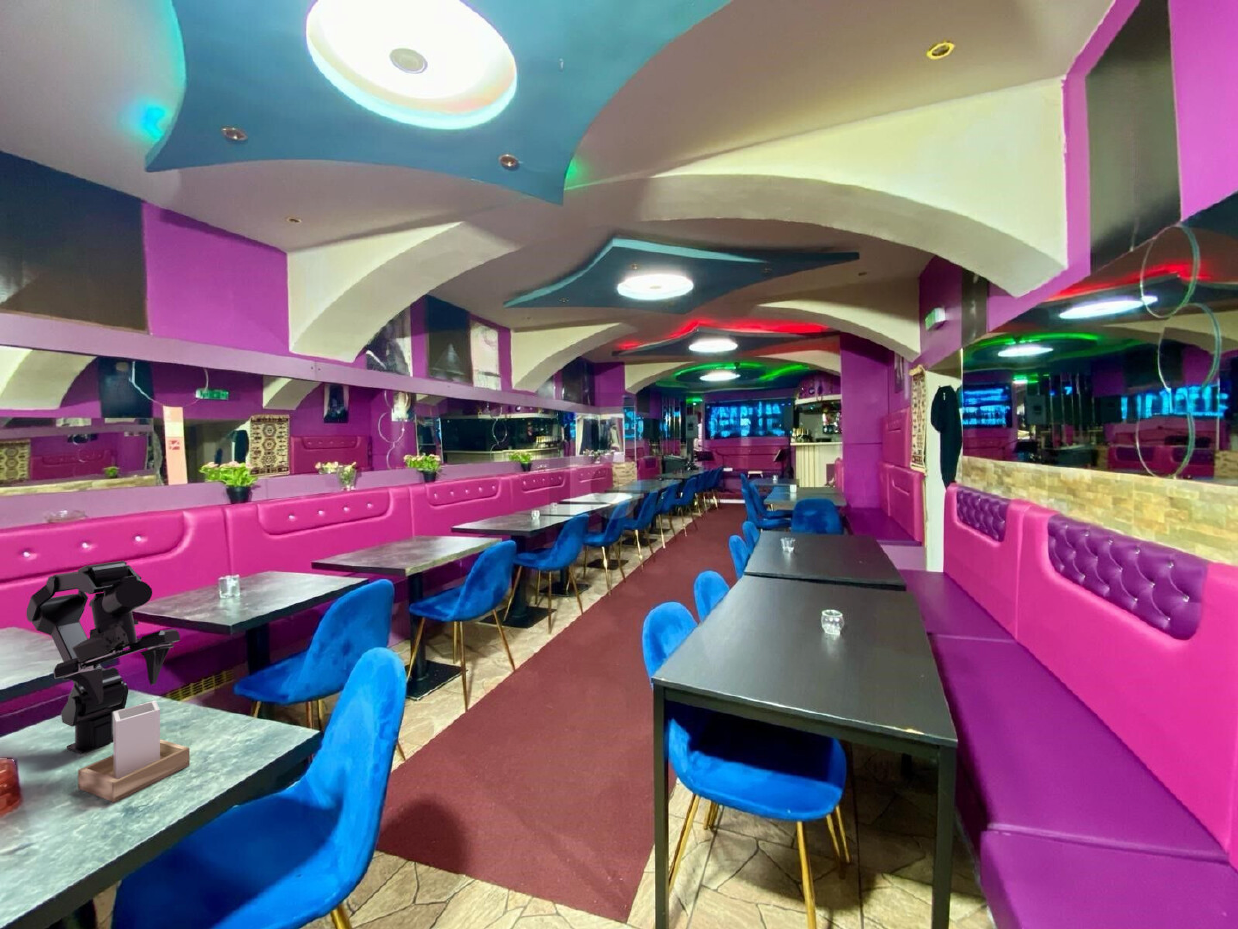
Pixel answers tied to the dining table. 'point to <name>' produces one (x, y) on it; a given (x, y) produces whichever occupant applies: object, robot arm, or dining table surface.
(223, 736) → the dining table surface
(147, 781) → the tray
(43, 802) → the dining table surface
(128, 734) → the white square vase
